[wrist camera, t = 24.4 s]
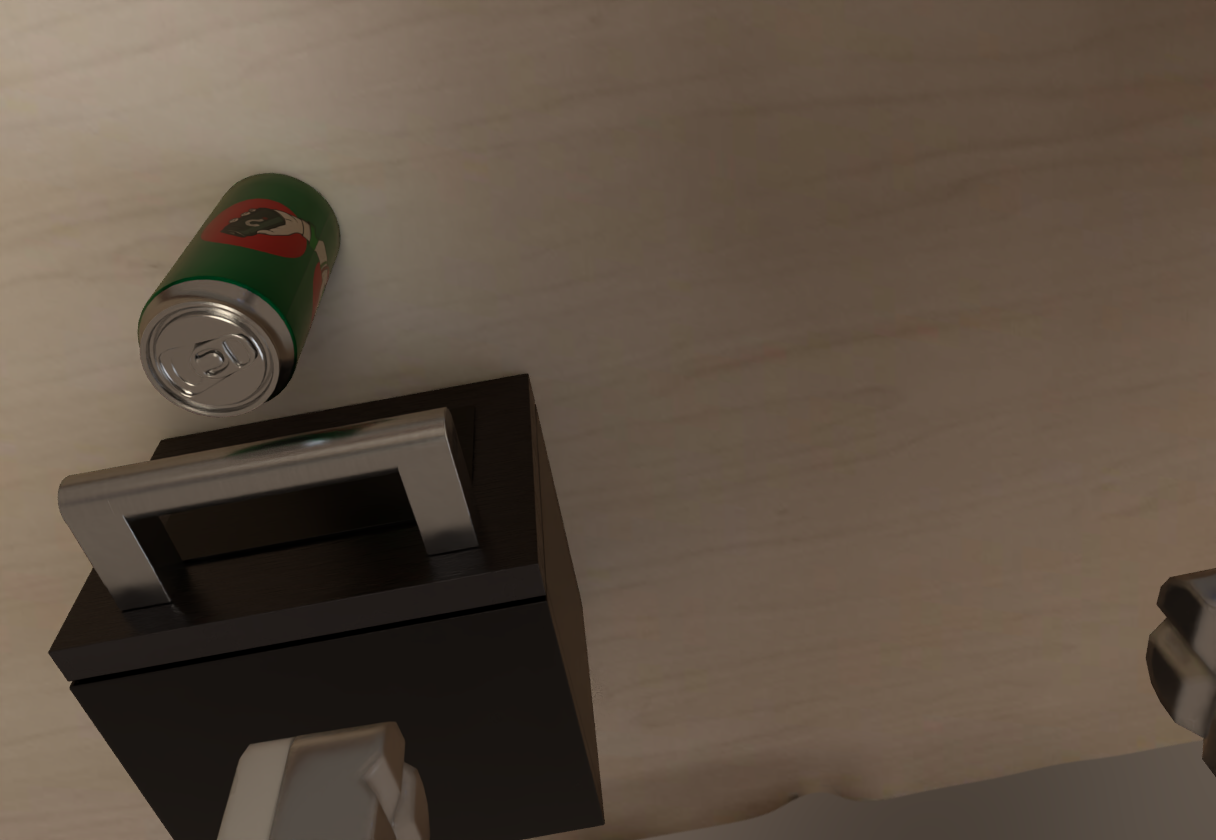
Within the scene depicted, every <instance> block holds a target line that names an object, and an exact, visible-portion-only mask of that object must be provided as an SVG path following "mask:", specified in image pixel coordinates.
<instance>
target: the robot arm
mask: <svg viewBox="0 0 1216 840" xmlns="http://www.w3.org/2000/svg"><path fill="white" fill-rule="evenodd" d="M1156 605H1157V606H1158V607H1159V608H1160V609H1161V611H1162V612H1163V613H1164V614H1165V616H1166V617H1167V618H1166V619H1165V620H1164V621H1163V622H1162V623H1161V624H1160V625H1159V626H1158V627H1157V628H1156V629H1155V630H1154V631H1153V632H1152V633H1151V634H1150V635H1149V641H1148V647H1147V653H1146V662H1147V666H1148V671H1149V676H1150V680H1151V684H1152V686H1153V688H1154V690H1155V692H1156V694H1157V696H1158V698H1159V700H1160V702H1161V704H1162V705H1163V706H1164V708H1165V709H1166V711H1167V712H1168V713H1169V715H1170V716H1171V718H1172V719H1173V720H1174V722H1175V723H1177V724H1178V725H1180V726H1182V727H1184V728H1186V729H1188V730H1190V731H1191V732H1193V733H1195V734H1197V735H1199V736H1201V737H1203V754H1202V759H1203V761H1204V762H1205V763H1206V765H1207V766H1208V767H1209V769H1210V770H1211V771H1212V773H1213V774H1214V775H1215V777H1216V568H1214V569H1209V570H1204V571H1199V572H1193V573H1188V574H1183V575H1178V576H1173V577H1170V578H1169V579H1168V580H1167V581H1166V582H1165V583H1164V584H1163V585H1162V586H1161V588H1160V592H1159V596H1158V600H1157V604H1156ZM405 743H406V742H405V740H404V738H403V735H402V733H401V731H400V729H399V727H398V725H397V723H396V722H383V723H376V724H370V725H364V726H357V727H351V728H344V729H338V730H332V731H325V732H319V733H312V734H306V735H300V736H296V737H290V738H284V739H278V740H272V741H266V742H260V743H254V744H249V746H248V747H247V749H246V750H245V752H244V753H243V755H242V756H241V758H240V759H239V762H238V766H237V769H236V773H235V777H234V780H233V784H232V787H231V791H230V794H229V798H228V802H227V805H226V809H225V812H224V816H223V820H222V823H221V827H220V830H219V834H218V837H217V840H430V827H429V814H428V803H427V799H426V795H425V790H424V786H423V783H422V780H421V778H420V775H419V773H418V770H417V769H416V768H414V767H413V766H411V765H409V764H407V763H405V762H404V754H405Z"/></svg>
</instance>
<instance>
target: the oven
mask: <svg viewBox="0 0 1216 840" xmlns="http://www.w3.org/2000/svg"><path fill="white" fill-rule="evenodd" d="M535 416H536V433H537V450H538V466H539V483H540V500H541V516H542V533H543V549H544V566H545V583H546V595H545V596H539V597H533V598H528V599H522V600H517V601H511V602H506V603H500V604H495V605H489V606H484V607H478V608H473V609H467V610H462V611H456V612H451V613H445V614H440V615H434V616H428V617H423V618H417V619H412V620H406V621H401V622H395V623H390V624H384V625H379V626H373V627H368V628H362V629H357V630H351V631H346V632H340V633H335V634H329V635H323V636H318V637H312V638H307V639H301V640H296V641H290V642H285V643H279V644H274V645H268V646H263V647H257V648H252V649H246V650H241V651H235V652H230V653H224V654H218V655H213V656H207V657H202V658H196V659H191V660H185V661H180V662H174V663H169V664H163V665H158V666H152V667H147V668H141V669H136V670H130V671H125V672H119V673H113V674H108V675H102V676H97V677H91V678H86V679H80V680H75V681H72V683H71V685H70V690H71V691H72V693H73V694H74V696H75V697H76V699H77V700H78V702H79V703H80V704H81V706H82V707H83V709H84V710H85V712H86V713H87V715H88V716H89V718H90V719H91V720H92V722H93V723H94V725H95V726H96V728H97V729H98V731H99V732H100V733H101V735H102V736H103V738H104V739H105V741H106V742H107V744H108V745H109V747H110V748H111V749H112V751H113V752H114V754H115V755H116V757H117V758H118V760H119V761H120V762H121V764H122V765H123V767H124V768H125V770H126V771H127V773H128V774H129V776H130V777H131V778H132V780H133V781H134V783H135V784H136V786H137V787H138V789H139V790H140V791H141V793H142V794H143V796H144V797H145V799H146V800H147V802H148V803H149V805H150V806H151V807H152V809H153V810H154V812H155V813H156V815H157V816H158V818H159V819H160V820H161V822H162V823H163V825H164V826H165V828H166V829H167V831H168V832H169V834H170V835H171V836H172V838H173V839H174V840H217V837H218V834H219V830H220V827H221V823H222V820H223V816H224V812H225V809H226V805H227V802H228V798H229V794H230V791H231V787H232V784H233V780H234V777H235V773H236V769H237V766H238V762H239V759H240V758H241V756H242V755H243V753H244V752H245V750H246V749H247V747H248V746H249V744H254V743H260V742H266V741H272V740H278V739H284V738H290V737H296V736H300V735H306V734H312V733H319V732H325V731H332V730H338V729H344V728H351V727H357V726H364V725H370V724H376V723H383V722H396V723H397V725H398V727H399V729H400V731H401V733H402V735H403V738H404V740H405V742H406V743H405V754H404V762H405V763H407V764H409V765H411V766H413V767H414V768H416V769H417V770H418V773H419V775H420V778H421V780H422V783H423V786H424V790H425V795H426V799H427V803H428V814H429V827H430V840H523V839H529V838H534V837H540V836H545V835H551V834H556V833H562V832H567V831H573V830H578V829H584V828H590V827H595V826H601V825H604V824H605V820H604V810H603V800H602V790H601V781H600V771H599V761H598V752H597V742H596V732H595V723H594V713H593V703H592V694H591V684H590V674H589V665H588V655H587V645H586V636H585V626H584V616H583V607H582V602H581V598H580V594H579V589H578V585H577V581H576V576H575V572H574V568H573V563H572V559H571V555H570V550H569V546H568V542H567V537H566V533H565V529H564V525H563V520H562V516H561V512H560V507H559V503H558V499H557V494H556V490H555V486H554V481H553V477H552V473H551V468H550V464H549V460H548V455H547V451H546V447H545V442H544V438H543V434H542V429H541V425H540V421H539V416H538V412H537V408H536V404H535Z"/></svg>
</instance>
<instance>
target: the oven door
mask: <svg viewBox="0 0 1216 840" xmlns="http://www.w3.org/2000/svg"><path fill="white" fill-rule="evenodd" d="M58 505H59V509H60V513H61V515H62V517H63V519H64V521H65V522H66V524H67V525H68V527H69V528H70V530H71V531H72V533H73V535H74V536H75V538H76V540H77V541H78V543H79V544H80V546H81V548H82V549H83V551H84V553H85V554H86V556H87V557H88V559H89V561H90V562H91V564H92V566H93V569H92V571H91V573H90V575H89V576H88V578H87V580H86V582H85V584H84V586H83V588H82V590H81V591H80V593H79V595H78V597H77V599H76V601H75V603H74V605H73V607H72V608H71V610H70V612H69V614H68V616H67V618H66V620H65V622H64V623H63V625H62V627H61V629H60V631H59V633H58V635H57V637H56V639H55V640H54V642H53V644H52V646H51V648H50V650H49V652H48V653H49V655H50V656H51V658H52V659H53V661H54V662H55V663H56V665H57V666H58V668H59V669H60V671H61V672H62V673H63V675H64V676H65V678H66V679H67V681H75V680H80V679H86V678H91V677H97V676H102V675H108V674H113V673H119V672H125V671H130V670H136V669H141V668H147V667H152V666H158V665H163V664H169V663H174V662H180V661H185V660H191V659H196V658H202V657H207V656H213V655H218V654H224V653H230V652H235V651H241V650H246V649H252V648H257V647H263V646H268V645H274V644H279V643H285V642H290V641H296V640H301V639H307V638H312V637H318V636H323V635H329V634H335V633H340V632H346V631H351V630H357V629H362V628H368V627H373V626H379V625H384V624H390V623H395V622H401V621H406V620H412V619H417V618H423V617H428V616H434V615H440V614H445V613H451V612H456V611H462V610H467V609H473V608H478V607H484V606H489V605H495V604H500V603H506V602H511V601H517V600H522V599H528V598H533V597H539V596H545V595H546V583H545V566H544V549H543V533H542V516H541V500H540V483H539V466H538V450H537V433H536V416H535V400H534V396H533V392H532V387H531V383H530V379H529V374H522V375H516V376H511V377H505V378H500V379H494V380H489V381H483V382H478V383H472V384H467V385H461V386H456V387H450V388H445V389H439V390H434V391H428V392H423V393H417V394H412V395H406V396H401V397H395V398H390V399H384V400H379V401H373V402H368V403H362V404H357V405H351V406H346V407H340V408H335V409H329V410H324V411H318V412H312V413H307V414H301V415H296V416H290V417H285V418H279V419H274V420H268V421H263V422H257V423H252V424H246V425H241V426H235V427H230V428H224V429H219V430H213V431H208V432H202V433H197V434H191V435H186V436H180V437H175V438H169V439H164V440H161V441H160V443H159V445H158V446H157V448H156V450H155V452H154V454H153V456H152V458H151V460H150V461H146V462H141V463H135V464H129V465H124V466H118V467H113V468H107V469H102V470H96V471H91V472H85V473H80V474H74V475H69V476H67V477H65V478H64V479H63V480H62V482H61V484H60V486H59V490H58Z"/></svg>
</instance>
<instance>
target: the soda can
mask: <svg viewBox="0 0 1216 840" xmlns="http://www.w3.org/2000/svg"><path fill="white" fill-rule="evenodd" d="M339 247H340V230H339V225H338V221H337V218H336V216H335V214H334V212H333V210H332V208H331V207H330V205H329V204H328V202H327V201H326V200H325V199H324V198H323V197H322V196H321V194H320V193H318V192H317V191H316V190H315V189H314V188H312V187H311V186H309V185H308V184H306V183H304V182H302V181H300V180H298V179H296V178H293V177H290V176H286V175H282V174H274V173H267V174H258V175H253V176H250V177H247V178H245V179H243V180H241V181H239V182H237V183H236V184H235V185H234V186H232V187H231V188H230V189H229V190H228V191H227V193H226V194H225V195H224V196H223V198H222V199H221V200H220V202H219V203H218V205H217V206H216V207H215V209H214V210H213V212H212V213H211V214H210V216H209V217H208V218H207V220H206V221H205V223H204V224H203V225H202V227H201V228H200V229H199V231H198V232H197V234H196V235H195V236H194V238H193V239H192V241H191V242H190V243H189V245H188V246H187V247H186V249H185V250H184V252H183V253H182V254H181V256H180V257H179V258H178V260H177V261H176V263H175V264H174V265H173V267H172V268H171V270H170V271H169V272H168V274H167V275H166V276H165V278H164V279H163V281H162V282H161V283H160V285H159V286H158V288H157V289H156V290H155V292H154V293H153V294H152V296H151V297H150V299H149V300H148V301H147V303H146V305H145V306H144V308H143V310H142V312H141V315H140V319H139V322H138V343H139V346H140V357H141V362H142V366H143V369H144V371H145V373H146V375H147V377H148V379H149V380H150V382H151V383H152V384H153V386H154V387H155V388H156V389H157V390H158V391H159V392H160V393H161V394H162V395H163V396H164V397H165V398H167V399H168V400H169V401H171V402H172V403H174V404H175V405H177V406H179V407H181V408H183V409H185V410H187V411H190V412H193V413H196V414H199V415H204V416H209V417H232V416H238V415H241V414H244V413H248V412H250V411H252V410H254V409H256V408H257V407H259V406H260V405H261V404H263V403H265V402H267V401H269V400H271V399H273V398H274V397H275V396H277V395H278V394H279V393H280V392H281V391H282V390H283V389H284V388H285V387H286V386H287V384H288V383H289V381H290V380H291V378H292V376H293V373H294V371H295V369H296V366H297V363H298V360H299V358H300V355H301V352H302V350H303V347H304V344H305V341H306V339H307V336H308V333H309V331H310V328H311V325H312V322H313V320H314V317H315V314H316V312H317V309H318V306H319V303H320V301H321V298H322V295H323V293H324V290H325V287H326V284H327V282H328V279H329V276H330V274H331V271H332V268H333V265H334V263H335V260H336V257H337V254H338V251H339Z"/></svg>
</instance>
